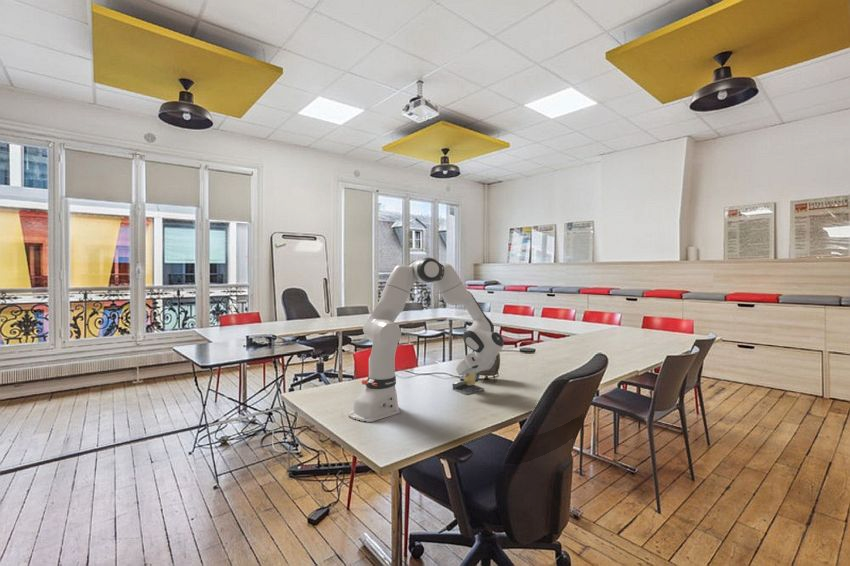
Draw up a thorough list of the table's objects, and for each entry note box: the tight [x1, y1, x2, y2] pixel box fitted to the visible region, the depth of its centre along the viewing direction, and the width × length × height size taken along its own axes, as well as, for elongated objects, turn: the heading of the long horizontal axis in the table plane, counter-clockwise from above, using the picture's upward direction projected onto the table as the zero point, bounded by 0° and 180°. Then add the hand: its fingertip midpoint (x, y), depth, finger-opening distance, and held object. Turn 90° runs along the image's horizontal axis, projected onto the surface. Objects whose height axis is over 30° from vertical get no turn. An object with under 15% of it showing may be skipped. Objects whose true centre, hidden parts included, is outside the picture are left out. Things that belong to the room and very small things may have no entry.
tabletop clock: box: [472, 350, 501, 382], centre depth 213 cm, size 14×9×25 cm, turn 73°
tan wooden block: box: [463, 372, 476, 386], centre depth 195 cm, size 4×4×8 cm
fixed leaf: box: [452, 380, 485, 396], centre depth 195 cm, size 10×12×4 cm
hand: (468, 374), depth 195 cm, fingers closed on tan wooden block, 4 cm apart
